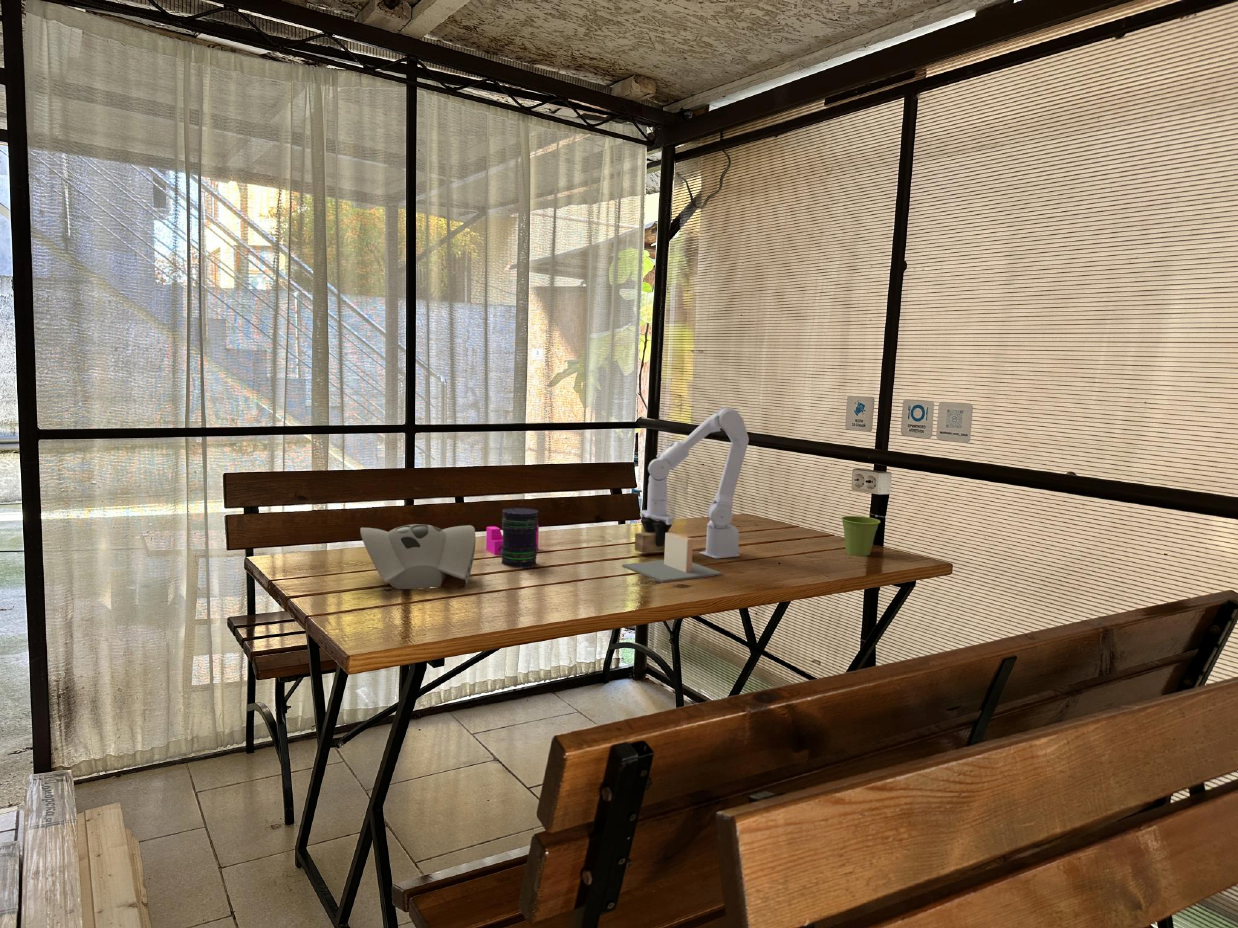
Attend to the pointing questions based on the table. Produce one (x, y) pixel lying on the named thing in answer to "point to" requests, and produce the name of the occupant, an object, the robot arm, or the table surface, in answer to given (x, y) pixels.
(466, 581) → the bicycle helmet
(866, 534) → the plant pot
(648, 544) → the brown wooden block
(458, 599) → the table surface
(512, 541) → the storage jar
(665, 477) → the robot arm
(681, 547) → the tile
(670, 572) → the slate mat
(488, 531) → the toy block
